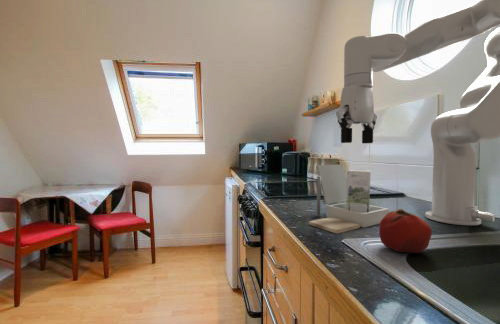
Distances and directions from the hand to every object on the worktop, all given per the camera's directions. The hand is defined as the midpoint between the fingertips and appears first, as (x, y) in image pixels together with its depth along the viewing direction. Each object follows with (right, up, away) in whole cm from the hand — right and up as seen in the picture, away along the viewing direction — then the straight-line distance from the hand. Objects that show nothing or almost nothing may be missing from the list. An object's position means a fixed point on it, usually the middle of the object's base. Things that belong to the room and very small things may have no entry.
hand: (357, 143), depth 73 cm
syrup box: (0, -22, +1) cm, 22 cm away
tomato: (-1, -23, -22) cm, 32 cm away
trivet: (-9, -22, -7) cm, 25 cm away
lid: (-4, -12, +7) cm, 14 cm away
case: (-1, -22, +1) cm, 22 cm away
